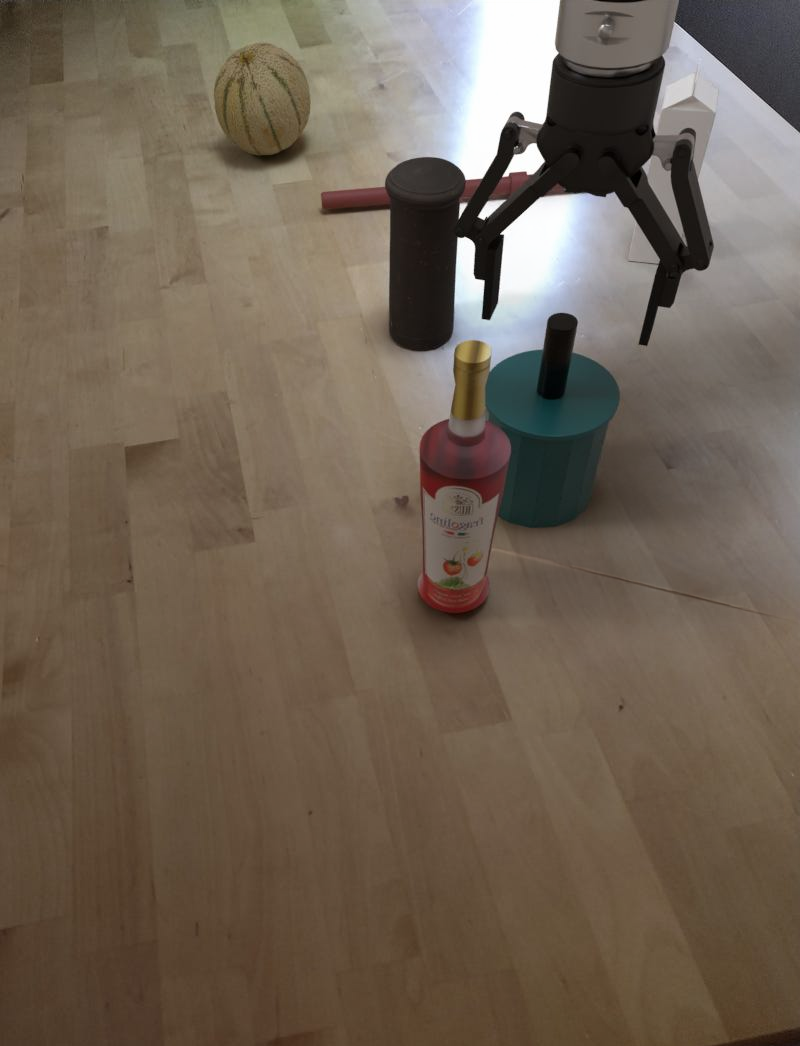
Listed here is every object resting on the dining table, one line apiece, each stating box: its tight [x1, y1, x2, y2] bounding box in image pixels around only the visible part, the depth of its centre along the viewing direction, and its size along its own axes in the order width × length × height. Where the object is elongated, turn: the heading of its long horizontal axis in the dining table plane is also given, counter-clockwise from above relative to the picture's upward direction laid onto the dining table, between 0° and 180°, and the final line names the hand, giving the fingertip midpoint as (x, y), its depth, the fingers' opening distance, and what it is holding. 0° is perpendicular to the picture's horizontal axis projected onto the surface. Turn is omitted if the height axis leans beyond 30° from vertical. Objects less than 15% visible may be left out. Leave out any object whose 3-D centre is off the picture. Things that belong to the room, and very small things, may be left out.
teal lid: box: [485, 312, 621, 441], centre depth 81 cm, size 13×13×9 cm
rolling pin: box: [320, 170, 565, 210], centre depth 128 cm, size 45×3×3 cm, turn 92°
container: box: [384, 156, 467, 351], centre depth 104 cm, size 9×9×20 cm
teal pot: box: [485, 408, 611, 529], centre depth 90 cm, size 12×12×12 cm
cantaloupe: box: [213, 42, 312, 156], centre depth 136 cm, size 15×15×15 cm
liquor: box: [417, 339, 511, 614], centre depth 76 cm, size 7×7×28 cm
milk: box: [627, 58, 720, 265], centre depth 110 cm, size 6×6×22 cm
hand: (565, 323), depth 78 cm, fingers open, 13 cm apart
